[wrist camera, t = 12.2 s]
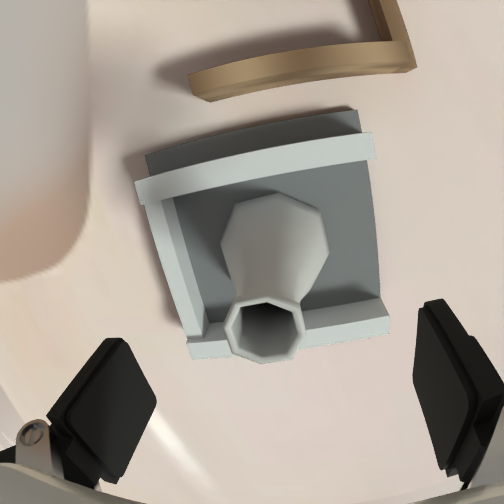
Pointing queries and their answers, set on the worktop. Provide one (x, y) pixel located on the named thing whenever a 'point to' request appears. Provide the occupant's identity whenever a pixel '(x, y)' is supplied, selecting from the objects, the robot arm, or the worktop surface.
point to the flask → (271, 274)
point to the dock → (258, 185)
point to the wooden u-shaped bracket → (314, 61)
